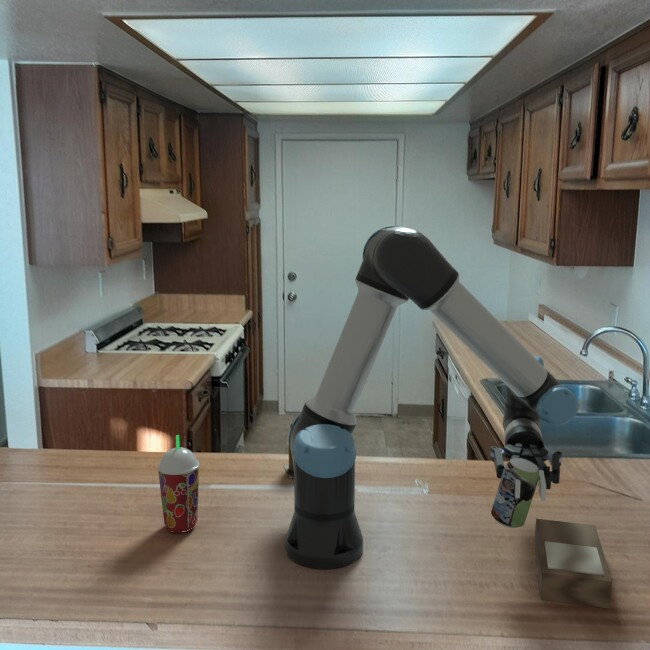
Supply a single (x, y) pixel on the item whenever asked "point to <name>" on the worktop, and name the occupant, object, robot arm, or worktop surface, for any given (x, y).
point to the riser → (571, 564)
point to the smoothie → (179, 488)
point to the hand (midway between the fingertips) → (530, 491)
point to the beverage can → (505, 503)
